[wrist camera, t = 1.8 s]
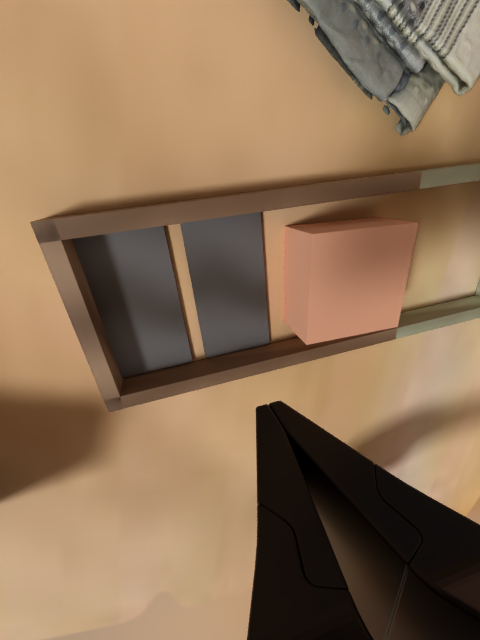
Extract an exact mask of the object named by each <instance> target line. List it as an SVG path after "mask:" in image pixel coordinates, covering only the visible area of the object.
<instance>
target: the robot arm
mask: <svg viewBox="0 0 480 640" xmlns="http://www.w3.org/2000/svg"><path fill="white" fill-rule="evenodd" d="M256 450H257V504H258V506H257V548H256V560H255V571H254V580H253V590H252V600H251V608H250V617H249V627H248V636H247V640H480V525H479V524H477V523H476V522H474V521H472V520H470V519H468V518H467V517H465V516H463V515H461V514H459V513H458V512H456V511H454V510H452V509H450V508H449V507H447V506H445V505H443V504H441V503H440V502H438V501H436V500H434V499H432V498H431V497H429V496H427V495H425V494H424V493H422V492H420V491H418V490H417V489H415V488H413V487H411V486H410V485H408V484H406V483H405V482H403V481H402V480H400V479H399V478H397V477H395V476H394V475H392V474H391V473H389V472H388V471H386V470H385V469H383V468H381V467H380V466H378V465H377V464H375V465H374V463H373V462H372V461H371V460H369V459H368V458H366V457H365V456H363V455H362V454H360V453H359V452H357V451H356V450H354V449H353V448H351V447H350V446H348V445H347V444H345V443H344V442H342V441H341V440H339V439H338V438H336V437H335V436H333V435H332V434H330V433H329V432H327V431H326V430H324V429H323V428H321V427H320V426H318V425H316V424H315V423H313V422H312V421H310V420H309V419H307V418H306V417H304V416H303V415H301V414H300V413H298V412H297V411H295V410H294V409H292V408H291V407H289V406H288V405H286V404H285V403H283V402H282V401H276V402H273V403H270V404H269V405H267V404H266V405H262V406H258V407H257V408H256Z"/></svg>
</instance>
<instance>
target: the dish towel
mask: <svg viewBox="0 0 480 640" xmlns="http://www.w3.org/2000/svg"><path fill="white" fill-rule="evenodd" d="M288 1H289V3H290V4H291V5H292V6H293V7H294V8H295V9H296V10H297V11H298V12H300V4H301V5H302V6H303V7H304V8H305V10H306V11H307V12H308V13H309V14H310V16H309V22H310V23H311V24H312V25H314V20H315V21H316V22H317V23H318V24H319V25H318V27H317V29H316V28H314V29H315V34H316V36H317V37H318V39H319V40H320V41H321V43H322V44H323V45H324V46H325V48H326V49H327V50H328V52H329V53H330V54H331V55H332V57H333V58H334V59H335V60H336V61H337V62H338V63H339V64H340V66H341V67H342V68H343V69H344V70H345V71H346V73H347V74H348V75H349V76H350V77H351V79H352V80H353V81H354V82H355V83H356V85H357V86H358V87H359V88H360V89H361V90H362V91H363V92H364V93H365V94H366V95H367V96H368V97H369V98H370V99H372V95H374V96H375V97H376V98H377V99H378V100H379V101H385V102H387V104H388V105H389V107H391V108H392V109H393V110H394V111H395V112H396V114H397V115H398V116H399V117H400V118H401V119H400V121H399V122H398V124H397V126H396V130H397V131H398V133H399V134H400V135H405V134H407V133H409V132H410V131H414V130H415V128H416V127H417V125H418V124H419V122H420V120H421V118H422V116H423V115H424V113H425V112H426V111H427V109H428V107H429V105H430V104H431V102H432V101H433V100H434V98H435V97H436V95H437V93H438V92H439V90H440V88H441V87H442V85H443V84H444V82H445V81H446V82H448V83H449V84H450V85H451V87H452V89H453V92H454V93H455V94H457V95H463V94H465V93H466V92H468V91H469V90H470V89H471V88H472V87H473V85H474V83H475V82H476V81H477V79H478V77H479V76H480V0H288ZM389 107H387V106H384V107H383V111H384V112H385V114H387V115H389V113H390V111H389Z"/></svg>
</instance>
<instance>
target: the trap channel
mask: <svg viewBox="0 0 480 640" xmlns="http://www.w3.org/2000/svg"><path fill="white" fill-rule="evenodd" d="M479 180H480V162H479V163H471V164H463V165H455V166H447V167H440V168H432V169H424V170H416V171H409V172H401V173H393V174H385V175H377V176H370V177H362V178H354V179H346V180H338V181H331V182H323V183H315V184H307V185H300V186H292V187H284V188H276V189H268V190H261V191H253V192H245V193H237V194H229V195H222V196H214V197H206V198H198V199H191V200H183V201H175V202H167V203H159V204H152V205H144V206H136V207H128V208H120V209H113V210H105V211H97V212H89V213H81V214H74V215H66V216H58V217H50V218H44V219H40V220H36V221H33V222H30V223H31V226H32V228H33V230H34V233H35V235H36V238H37V240H38V243H39V245H40V247H41V250H42V252H43V255H44V257H45V259H46V262H47V264H48V267H49V269H50V272H51V274H52V276H53V279H54V281H55V284H56V286H57V289H58V291H59V293H60V296H61V298H62V301H63V303H64V306H65V308H66V310H67V313H68V315H69V318H70V320H71V322H72V325H73V327H74V330H75V332H76V335H77V337H78V339H79V342H80V344H81V347H82V349H83V352H84V354H85V356H86V359H87V361H88V364H89V366H90V368H91V371H92V373H93V376H94V378H95V381H96V383H97V385H98V388H99V390H100V393H101V395H102V398H103V400H104V402H105V405H106V407H107V410H108V412H112V411H116V410H120V409H124V408H127V407H131V406H135V405H139V404H143V403H147V402H151V401H155V400H159V399H163V398H167V397H171V396H174V395H178V394H182V393H186V392H190V391H194V390H198V389H202V388H206V387H210V386H214V385H218V384H221V383H225V382H229V381H233V380H237V379H241V378H245V377H249V376H253V375H257V374H261V373H265V372H269V371H272V370H276V369H280V368H284V367H288V366H292V365H296V364H300V363H304V362H308V361H312V360H316V359H319V358H323V357H327V356H331V355H335V354H339V353H343V352H347V351H351V350H355V349H359V348H363V347H366V346H370V345H374V344H378V343H382V342H386V341H390V340H394V339H398V338H402V337H406V336H410V335H414V334H417V333H421V332H425V331H429V330H433V329H437V328H441V327H445V326H449V325H453V324H457V323H461V322H464V321H468V320H472V319H476V318H480V279H479V283H478V287H477V290H476V294H475V296H471V297H467V298H462V299H458V300H454V301H450V302H445V303H441V304H437V305H433V306H428V307H424V308H420V309H416V310H411V311H407V312H403V313H400V318H399V323H398V327H395V328H390V329H385V330H380V331H375V332H370V333H365V334H359V335H354V336H349V337H344V338H339V339H334V340H329V341H324V342H319V343H314V344H309V345H306V344H305V343H304V342H303V341H302V340H301V339H300V338H299V337H297V338H293V339H289V340H284V341H280V342H276V343H272V344H268V343H270V341H269V327H268V313H267V298H266V284H265V269H264V255H263V241H262V226H261V212H263V211H270V210H277V209H284V208H291V207H298V206H305V205H312V204H319V203H326V202H333V201H340V200H347V199H354V198H361V197H368V196H375V195H382V194H389V193H396V192H403V191H409V190H416V189H423V188H430V187H437V186H444V185H451V184H458V183H465V182H472V181H479ZM179 223H180V224H181V230H182V235H183V240H184V245H185V251H186V256H187V261H188V266H189V272H190V277H191V282H192V288H193V293H194V298H195V303H196V309H197V314H198V319H199V324H200V330H201V335H202V340H203V345H204V351H205V356H206V358H208V359H204V360H200V361H196V362H192V356H191V351H190V347H189V342H188V337H187V333H186V328H185V323H184V319H183V314H182V310H181V305H180V300H179V296H178V291H177V286H176V282H175V277H174V272H173V268H172V263H171V259H170V254H169V249H168V245H167V240H166V235H165V231H164V226H165V225H172V224H179ZM264 344H268V345H264ZM260 345H263V346H260ZM256 346H259V347H256ZM251 347H255V348H251ZM247 348H251V349H247ZM243 349H246V350H243ZM239 350H242V351H239ZM234 351H238V352H234ZM230 352H234V353H230ZM226 353H229V354H226ZM222 354H225V355H222ZM217 355H221V356H217ZM213 356H217V357H213ZM209 357H213V358H209ZM188 362H191V363H188ZM184 363H187V364H184ZM179 364H183V365H179ZM175 365H179V366H175ZM171 366H174V367H171ZM167 367H170V368H167ZM162 368H166V369H162ZM158 369H162V370H158ZM154 370H157V371H154ZM150 371H153V372H150ZM145 372H149V373H145ZM141 373H145V374H141ZM137 374H141V375H137ZM133 375H136V376H133ZM128 376H132V377H128ZM124 377H128V378H124ZM123 378H124V379H123Z"/></svg>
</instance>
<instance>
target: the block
mask: <svg viewBox="0 0 480 640" xmlns="http://www.w3.org/2000/svg"><path fill="white" fill-rule="evenodd" d="M418 224H419V222H411V221H403V220H396V219H388V218H380V217H371V218H362V219H352V220H342V221H332V222H322V223H312V224H302V225H292V226H285V232H284V322H285V323H286V324H287V325H288V326H289V327H290V328H291V329H292V330H293V332H294V333H295V334H296V335H297V336H298V337H299V338H300V339H301V340H302V341H303V342H304V343H305V344H306V345H309V344H314V343H319V342H324V341H329V340H334V339H339V338H344V337H349V336H354V335H359V334H365V333H370V332H375V331H380V330H385V329H390V328H395V327H398V323H399V318H400V313H401V308H402V303H403V298H404V293H405V288H406V283H407V278H408V274H409V269H410V264H411V259H412V254H413V249H414V244H415V239H416V234H417V229H418Z"/></svg>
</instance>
